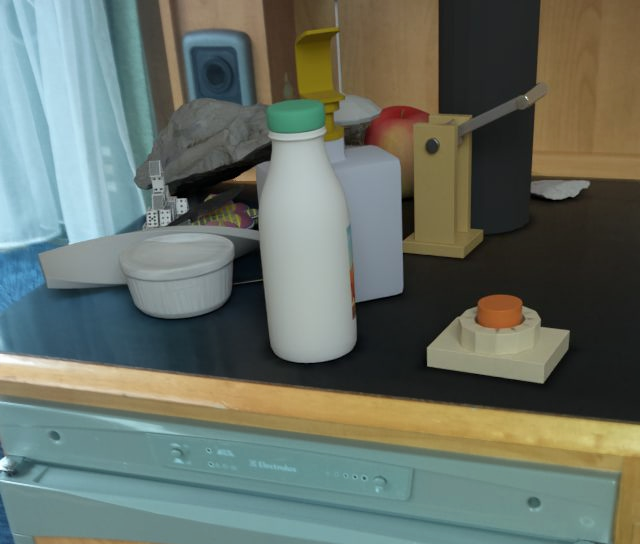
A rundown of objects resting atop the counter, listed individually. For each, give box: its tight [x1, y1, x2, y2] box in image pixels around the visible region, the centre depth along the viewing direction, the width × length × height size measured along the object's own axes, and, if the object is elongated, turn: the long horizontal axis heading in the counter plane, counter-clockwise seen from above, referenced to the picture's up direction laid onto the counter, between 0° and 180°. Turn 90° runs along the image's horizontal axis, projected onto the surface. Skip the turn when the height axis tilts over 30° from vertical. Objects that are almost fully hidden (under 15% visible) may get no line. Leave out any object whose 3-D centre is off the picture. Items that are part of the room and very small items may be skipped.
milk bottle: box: [257, 98, 358, 364], centre depth 83 cm, size 8×8×20 cm
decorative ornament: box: [177, 193, 259, 230], centre depth 115 cm, size 17×2×10 cm
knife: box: [232, 275, 263, 286], centre depth 104 cm, size 10×2×1 cm, turn 96°
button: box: [477, 294, 523, 329], centre depth 82 cm, size 4×4×2 cm
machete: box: [165, 185, 245, 227], centre depth 113 cm, size 15×3×1 cm, turn 113°
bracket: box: [402, 113, 484, 259], centre depth 105 cm, size 7×6×13 cm
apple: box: [364, 105, 431, 200], centre depth 121 cm, size 10×10×10 cm
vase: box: [437, 0, 542, 236], centre depth 105 cm, size 10×10×30 cm
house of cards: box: [141, 161, 192, 230], centre depth 117 cm, size 9×9×8 cm
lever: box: [445, 81, 549, 145], centre depth 99 cm, size 12×6×2 cm, turn 63°
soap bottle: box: [255, 26, 404, 304], centre depth 91 cm, size 12×7×23 cm, turn 109°
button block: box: [426, 305, 571, 384], centre depth 84 cm, size 10×7×4 cm
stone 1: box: [133, 97, 272, 193], centre depth 122 cm, size 15×28×10 cm, turn 50°
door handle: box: [37, 224, 260, 290], centre depth 104 cm, size 26×5×5 cm
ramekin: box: [119, 233, 235, 320], centre depth 98 cm, size 11×11×5 cm
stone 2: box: [530, 179, 591, 201], centre depth 119 cm, size 6×8×2 cm
